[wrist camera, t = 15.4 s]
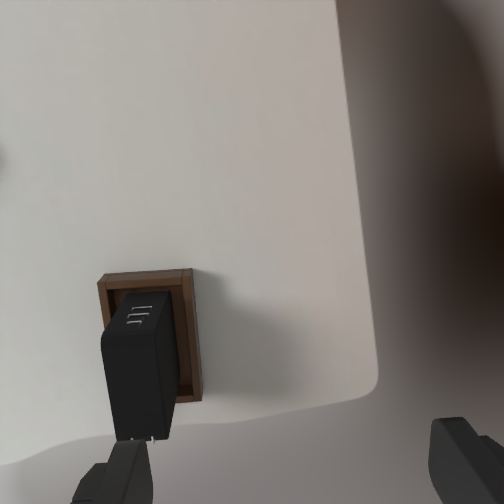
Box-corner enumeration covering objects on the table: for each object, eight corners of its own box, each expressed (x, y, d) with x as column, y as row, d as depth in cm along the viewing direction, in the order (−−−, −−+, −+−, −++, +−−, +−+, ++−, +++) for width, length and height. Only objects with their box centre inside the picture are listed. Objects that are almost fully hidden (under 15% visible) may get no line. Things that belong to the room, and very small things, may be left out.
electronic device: (171, 287, 40) (154, 334, 31) (181, 375, 43) (168, 444, 33) (128, 290, 40) (97, 338, 30) (141, 378, 43) (116, 449, 33)
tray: (192, 268, 40) (190, 276, 38) (203, 387, 44) (201, 401, 42) (104, 273, 40) (96, 282, 38) (122, 393, 44) (116, 408, 41)
